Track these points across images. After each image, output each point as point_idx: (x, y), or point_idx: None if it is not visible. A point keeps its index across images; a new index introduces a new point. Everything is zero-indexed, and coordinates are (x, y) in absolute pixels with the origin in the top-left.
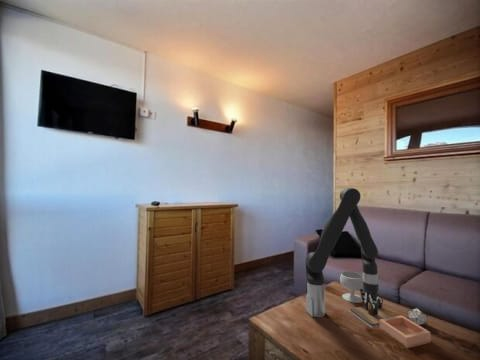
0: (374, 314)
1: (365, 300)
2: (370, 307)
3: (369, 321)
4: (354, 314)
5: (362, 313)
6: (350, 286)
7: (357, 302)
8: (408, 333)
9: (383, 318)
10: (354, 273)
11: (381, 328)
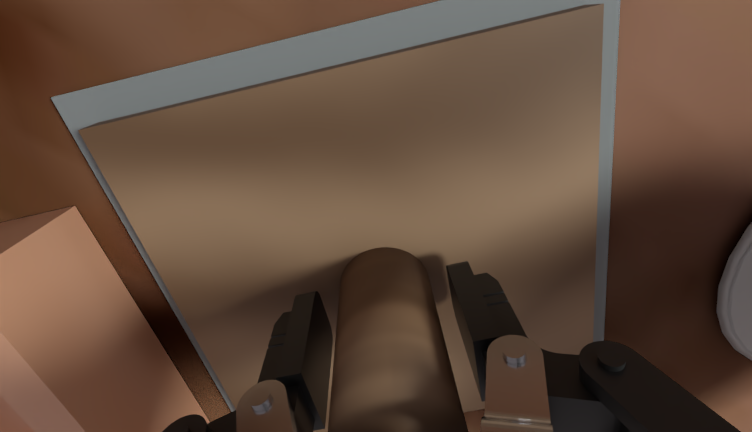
0: (295, 305)
1: (517, 390)
2: (348, 343)
3: (155, 141)
4: (442, 16)
5: (405, 159)
6: None
7: (737, 260)
8: (5, 428)
9: None
10: None
11: (25, 222)
